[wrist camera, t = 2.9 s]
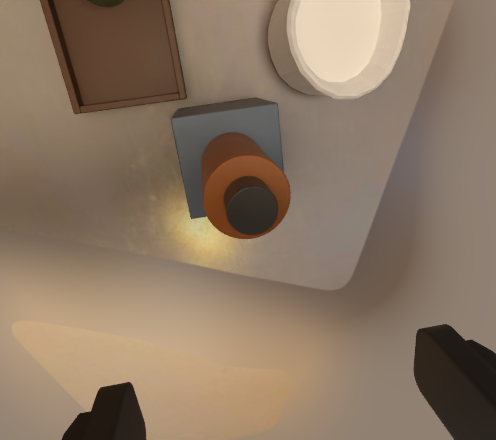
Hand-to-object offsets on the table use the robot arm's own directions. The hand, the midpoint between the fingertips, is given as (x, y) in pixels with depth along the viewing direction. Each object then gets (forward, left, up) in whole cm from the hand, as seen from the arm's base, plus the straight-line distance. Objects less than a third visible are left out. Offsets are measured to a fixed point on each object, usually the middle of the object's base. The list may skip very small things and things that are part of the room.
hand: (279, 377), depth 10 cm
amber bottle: (+1, +2, -20) cm, 20 cm away
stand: (+1, +2, -30) cm, 30 cm away
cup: (+11, +10, -30) cm, 33 cm away
